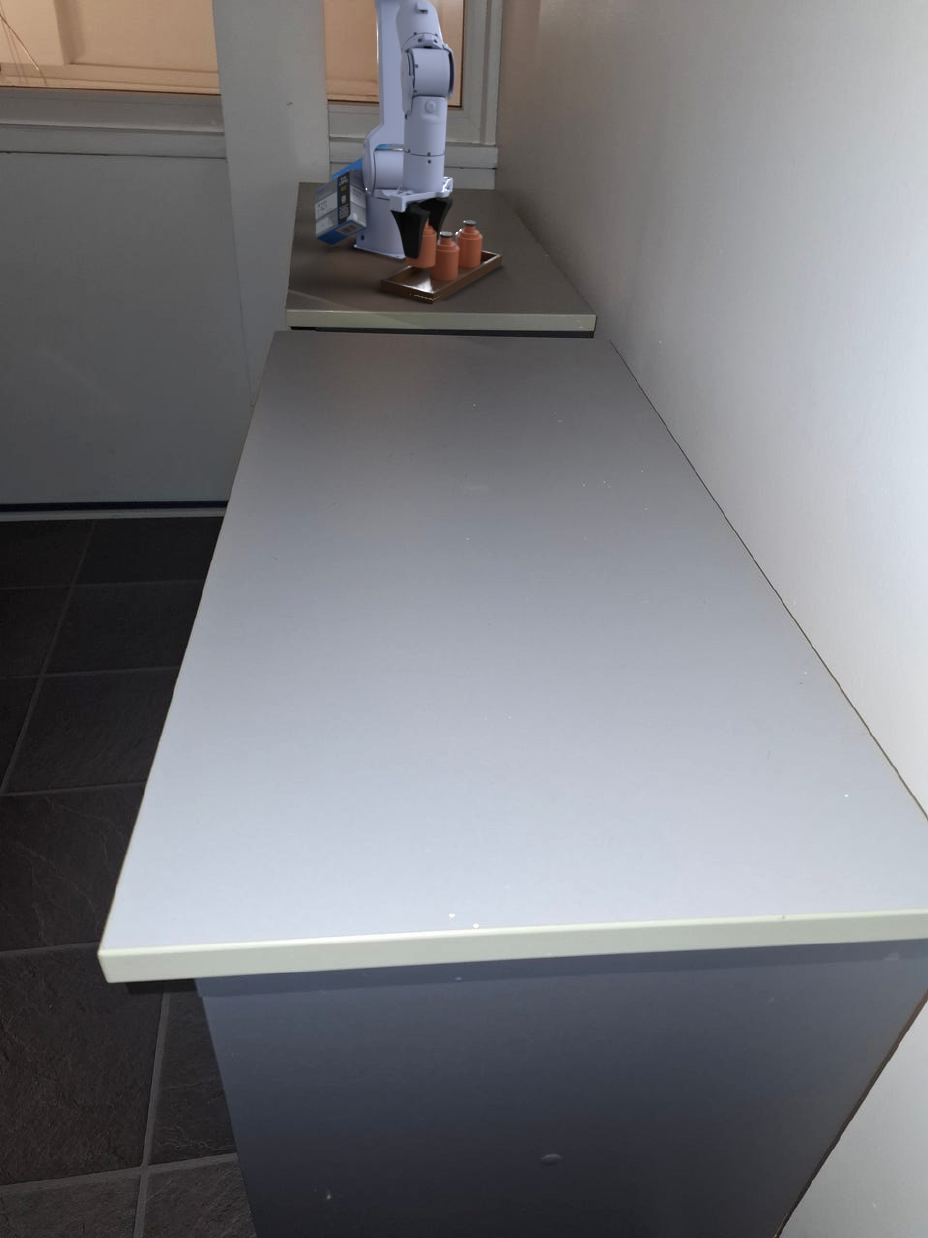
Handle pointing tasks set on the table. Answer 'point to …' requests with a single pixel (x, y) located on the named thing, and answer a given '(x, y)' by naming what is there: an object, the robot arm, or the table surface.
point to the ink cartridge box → (341, 205)
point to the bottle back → (469, 245)
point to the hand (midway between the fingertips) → (419, 252)
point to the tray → (426, 286)
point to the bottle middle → (445, 259)
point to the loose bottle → (426, 249)
